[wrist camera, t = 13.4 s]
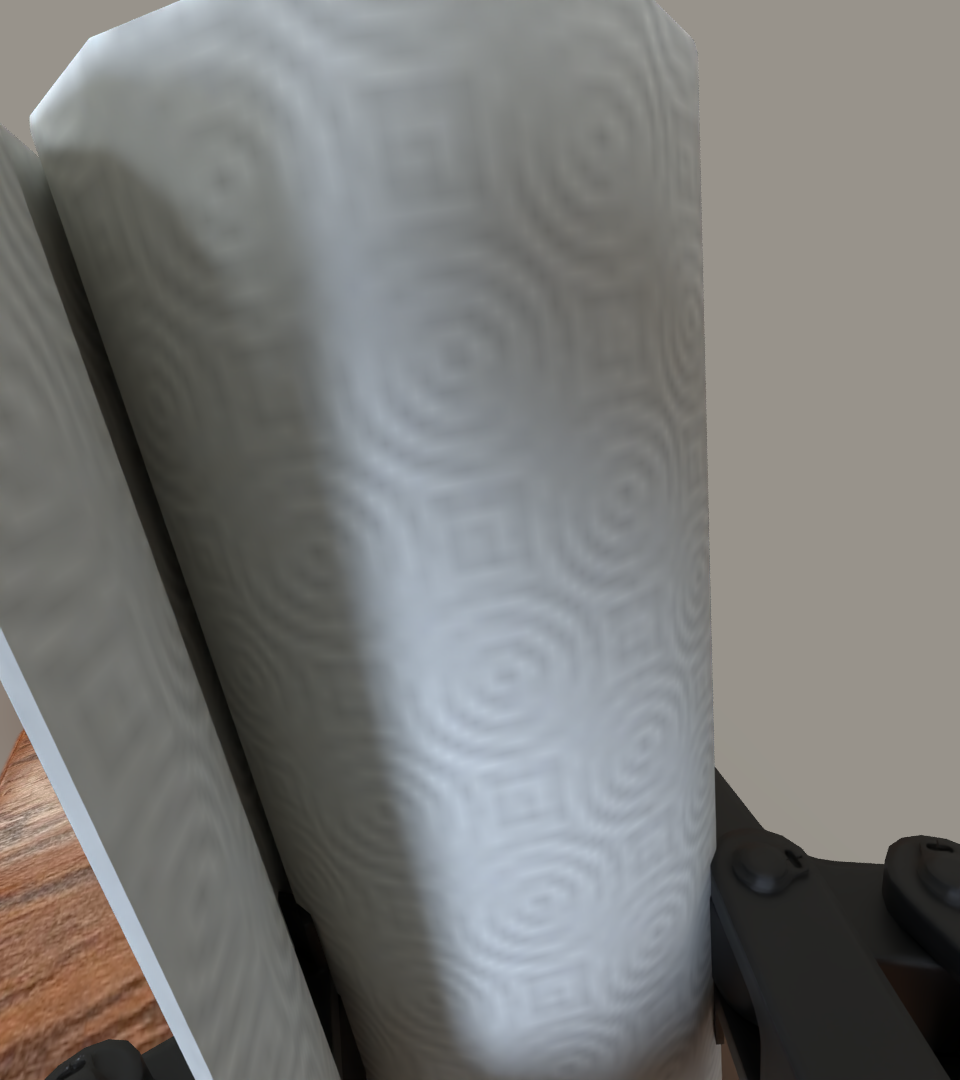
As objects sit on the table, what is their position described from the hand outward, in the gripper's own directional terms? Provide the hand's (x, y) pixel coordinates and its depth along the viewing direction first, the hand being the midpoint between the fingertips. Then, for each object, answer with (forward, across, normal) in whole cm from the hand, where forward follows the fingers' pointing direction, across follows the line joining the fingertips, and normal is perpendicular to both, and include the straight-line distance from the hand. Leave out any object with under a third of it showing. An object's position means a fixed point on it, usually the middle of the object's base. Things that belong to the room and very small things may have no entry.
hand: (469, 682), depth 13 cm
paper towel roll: (-5, 0, -12) cm, 13 cm away
